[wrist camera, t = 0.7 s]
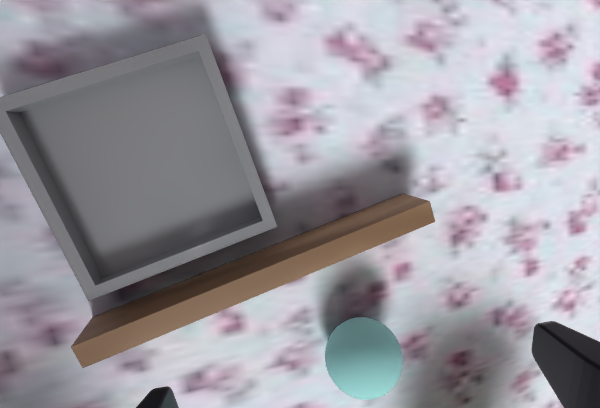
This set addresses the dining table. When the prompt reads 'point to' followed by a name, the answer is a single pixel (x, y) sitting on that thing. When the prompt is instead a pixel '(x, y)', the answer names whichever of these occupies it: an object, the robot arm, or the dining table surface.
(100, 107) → the tray
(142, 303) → the rail
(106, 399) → the dining table surface
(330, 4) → the dining table surface
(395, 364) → the ball
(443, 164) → the dining table surface
